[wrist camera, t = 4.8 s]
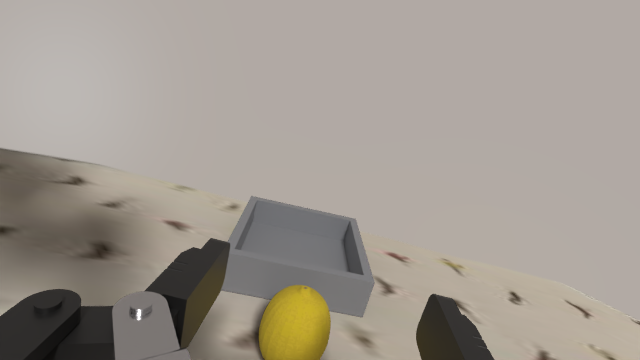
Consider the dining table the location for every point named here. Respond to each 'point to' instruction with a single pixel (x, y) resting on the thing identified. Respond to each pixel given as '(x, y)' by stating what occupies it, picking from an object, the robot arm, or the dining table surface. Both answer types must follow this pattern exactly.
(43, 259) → the dining table surface
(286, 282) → the bin
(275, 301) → the lemon
